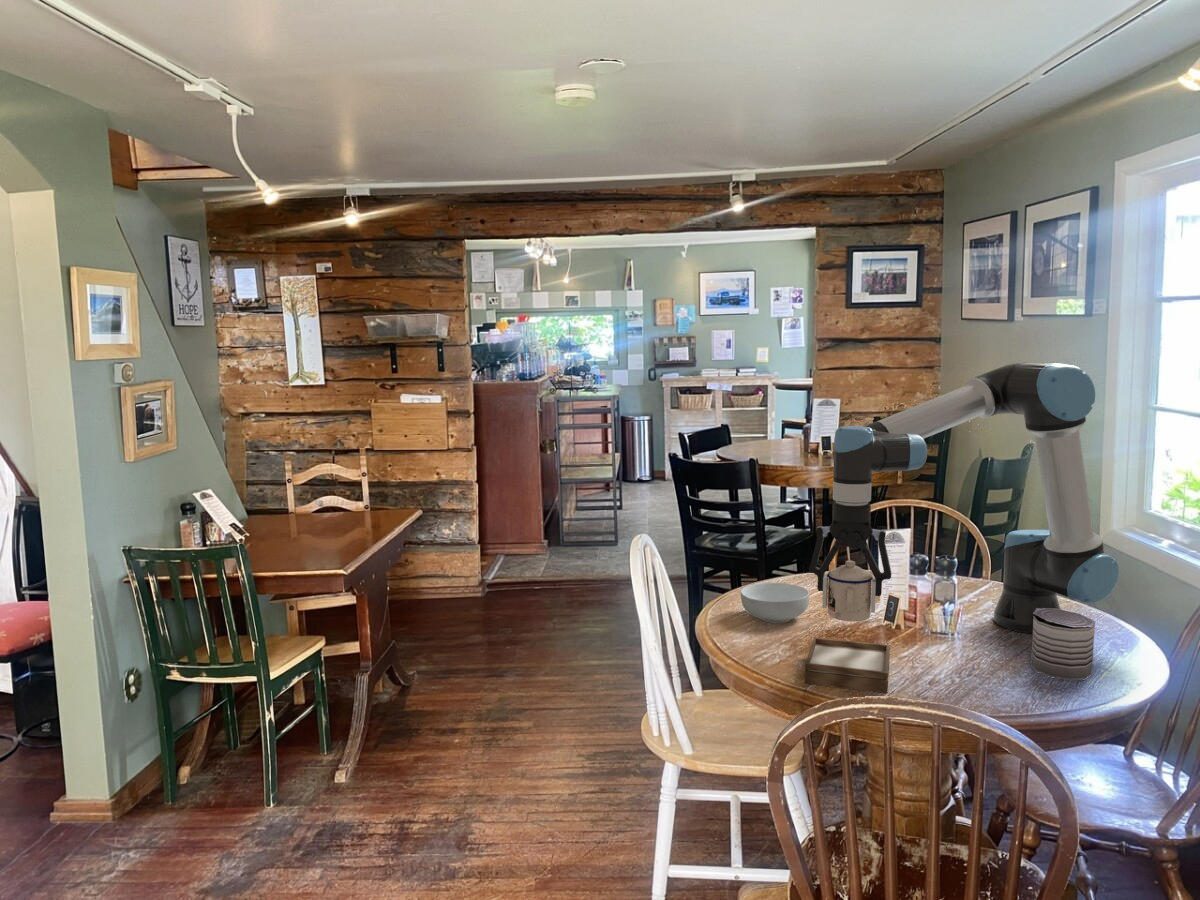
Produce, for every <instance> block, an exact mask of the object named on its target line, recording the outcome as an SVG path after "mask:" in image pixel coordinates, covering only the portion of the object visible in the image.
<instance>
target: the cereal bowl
mask: <svg viewBox="0 0 1200 900" xmlns="http://www.w3.org/2000/svg"><path fill="white" fill-rule="evenodd" d="M740 600H741V604H742V606H743V609H744V610H745V611H746V612H747V613H748V614H749V615H750V616H753V617H755V618H756V619H757V618H758V619H759V620H761V621H763V622H766V623H770V624H771V623H772V624H783V623H787V622H790V621H791V620H792V619H795V618H798V617H799V616H801V615H803V613H805V612H806V610H807V608H808V607H809V604H810V591H809V590H808V589H807V588H805V587H803V586H800V585H796V584H793V583H792V584H791V583H787V582H785V583H784V582H773V581H772V582H760V583H759V582H758V583H754V584H750V585H746V586H745V587H744V586H743V588H741V590H740Z"/></svg>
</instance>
